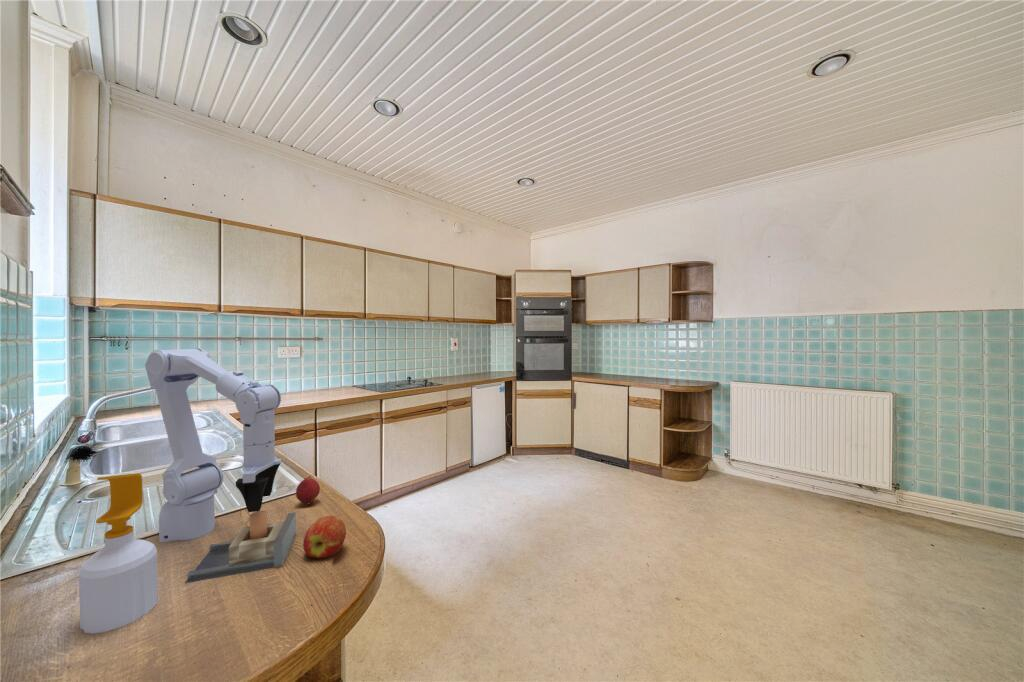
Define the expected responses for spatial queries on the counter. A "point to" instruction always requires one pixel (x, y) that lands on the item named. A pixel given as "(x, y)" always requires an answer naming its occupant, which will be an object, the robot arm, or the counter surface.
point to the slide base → (219, 562)
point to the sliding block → (253, 545)
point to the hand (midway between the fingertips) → (260, 503)
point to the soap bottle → (119, 565)
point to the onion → (307, 490)
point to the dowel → (258, 525)
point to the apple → (324, 537)
